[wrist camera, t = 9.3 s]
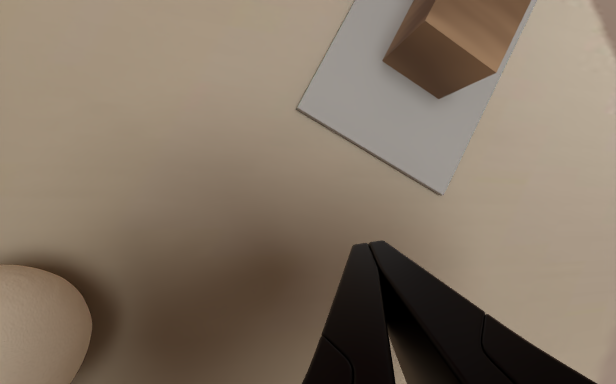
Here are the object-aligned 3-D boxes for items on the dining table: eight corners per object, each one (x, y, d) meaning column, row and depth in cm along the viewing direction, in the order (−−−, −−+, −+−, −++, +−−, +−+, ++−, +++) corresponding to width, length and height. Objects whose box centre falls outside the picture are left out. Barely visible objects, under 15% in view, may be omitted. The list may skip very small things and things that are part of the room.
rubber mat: (439, 194, 20) (443, 195, 19) (296, 109, 18) (297, 107, 17) (540, -16, 21) (546, -19, 21) (418, -118, 19) (422, -124, 19)
